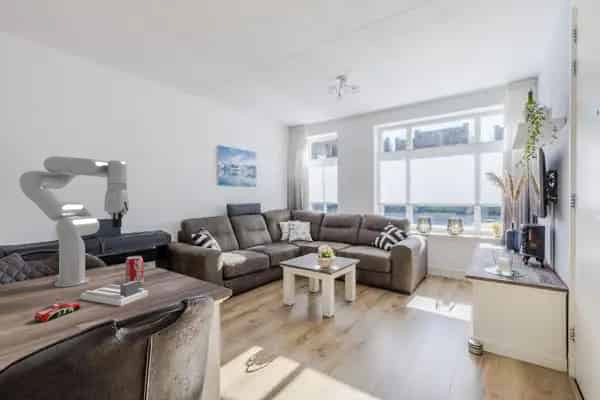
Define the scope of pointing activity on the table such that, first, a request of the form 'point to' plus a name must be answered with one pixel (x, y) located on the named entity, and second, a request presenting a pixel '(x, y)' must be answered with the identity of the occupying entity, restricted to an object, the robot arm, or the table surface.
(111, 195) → the robot arm
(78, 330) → the table surface
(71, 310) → the race car
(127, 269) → the soda can
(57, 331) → the table surface
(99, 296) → the fader console
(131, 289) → the fader tab
